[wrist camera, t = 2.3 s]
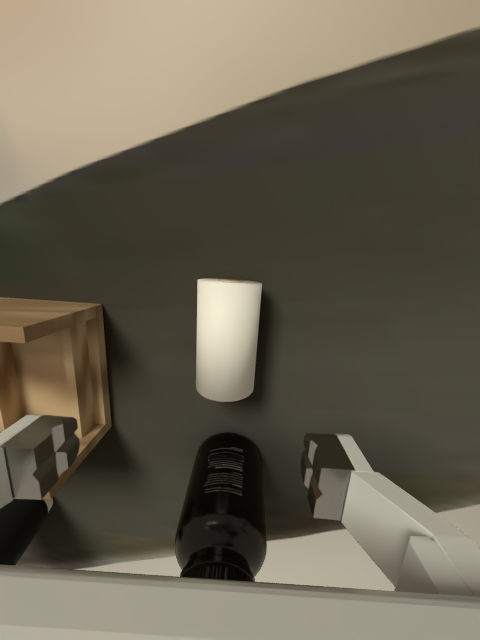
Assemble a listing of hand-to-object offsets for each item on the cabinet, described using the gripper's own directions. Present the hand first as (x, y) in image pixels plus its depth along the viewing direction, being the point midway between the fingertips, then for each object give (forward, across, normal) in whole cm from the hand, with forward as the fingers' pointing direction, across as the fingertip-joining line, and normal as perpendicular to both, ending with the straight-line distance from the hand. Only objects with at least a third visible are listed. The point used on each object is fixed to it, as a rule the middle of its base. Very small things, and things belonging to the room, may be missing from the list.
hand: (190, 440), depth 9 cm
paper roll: (+12, 0, 0) cm, 12 cm away
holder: (+14, +16, +5) cm, 22 cm away
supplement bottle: (+14, -1, +14) cm, 20 cm away
